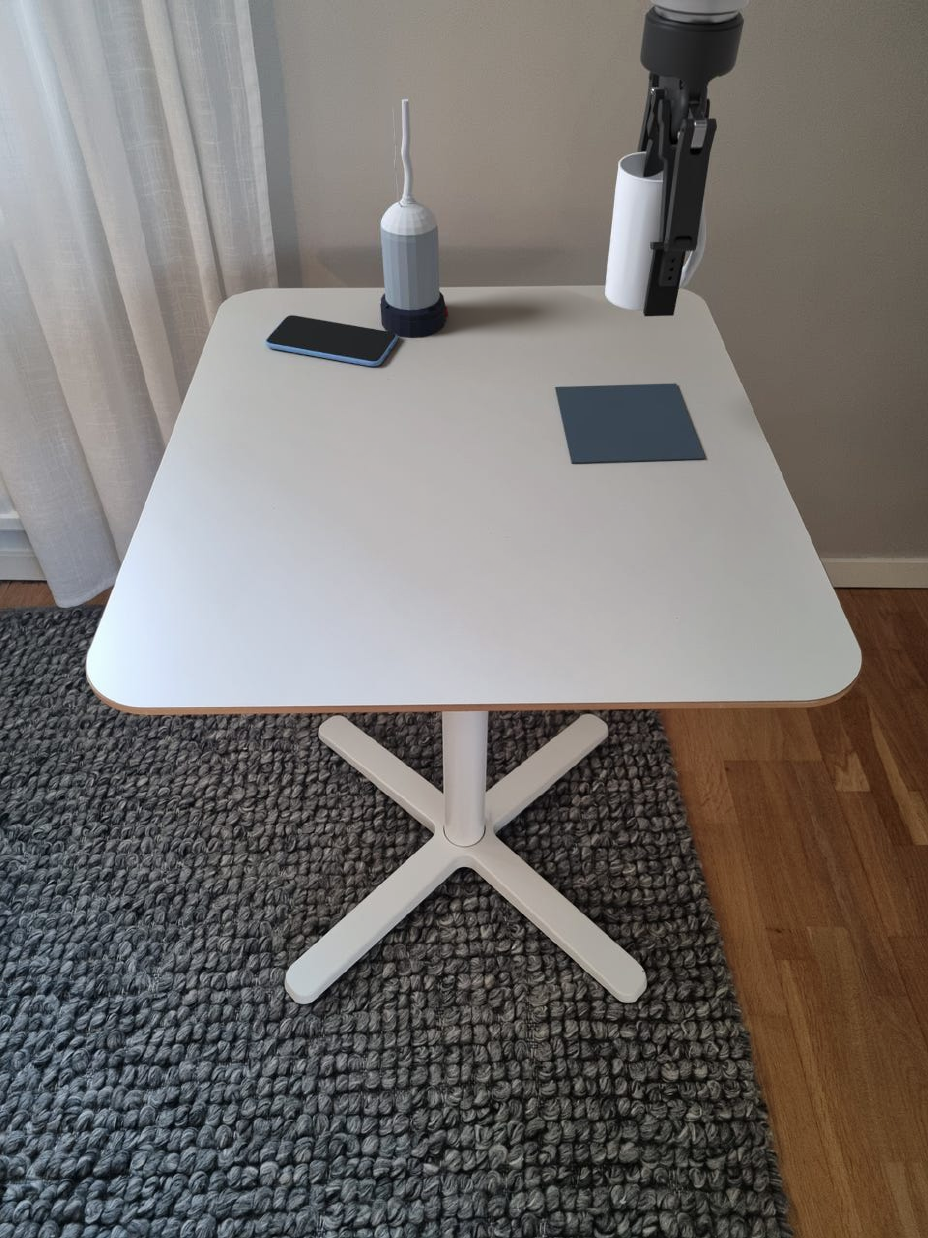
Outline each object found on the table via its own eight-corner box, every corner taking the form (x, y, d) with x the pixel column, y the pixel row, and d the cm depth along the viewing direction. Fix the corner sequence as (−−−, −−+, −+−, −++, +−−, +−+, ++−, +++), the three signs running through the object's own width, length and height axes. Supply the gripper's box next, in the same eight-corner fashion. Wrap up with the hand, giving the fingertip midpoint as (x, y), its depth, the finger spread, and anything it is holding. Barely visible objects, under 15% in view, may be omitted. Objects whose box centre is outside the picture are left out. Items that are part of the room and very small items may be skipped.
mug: (587, 292, 85) (602, 162, 76) (636, 272, 88) (656, 145, 79) (661, 335, 80) (687, 200, 71) (711, 312, 83) (741, 180, 74)
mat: (704, 459, 91) (705, 458, 91) (571, 463, 90) (571, 462, 90) (675, 384, 100) (676, 383, 100) (555, 388, 100) (555, 386, 100)
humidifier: (459, 318, 110) (458, 98, 92) (416, 344, 106) (406, 119, 87) (411, 298, 114) (401, 82, 95) (367, 323, 109) (348, 102, 91)
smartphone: (378, 362, 102) (261, 342, 105) (378, 369, 102) (262, 348, 105) (400, 331, 106) (287, 312, 109) (400, 337, 107) (288, 318, 110)
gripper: (623, -25, 74) (593, 241, 90) (677, 50, 59) (629, 349, 76) (710, -26, 74) (664, 240, 91) (785, 49, 60) (714, 347, 77)
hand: (648, 290), depth 83 cm, fingers closed on mug, 8 cm apart
